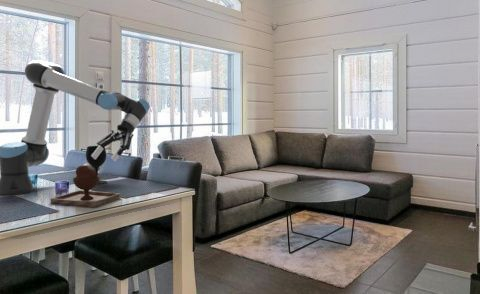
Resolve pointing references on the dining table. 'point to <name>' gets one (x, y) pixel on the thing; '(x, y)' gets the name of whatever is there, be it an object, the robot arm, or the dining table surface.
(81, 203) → the tray
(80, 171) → the ice cream bowl
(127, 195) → the dining table surface
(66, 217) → the dining table surface
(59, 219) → the dining table surface
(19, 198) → the dining table surface
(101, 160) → the wine glass
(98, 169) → the elephant figurine
